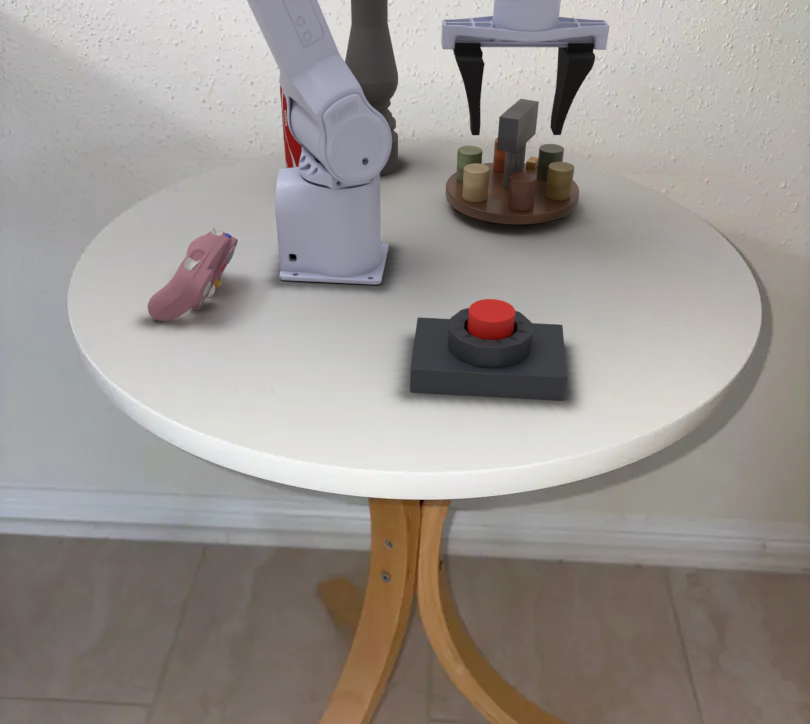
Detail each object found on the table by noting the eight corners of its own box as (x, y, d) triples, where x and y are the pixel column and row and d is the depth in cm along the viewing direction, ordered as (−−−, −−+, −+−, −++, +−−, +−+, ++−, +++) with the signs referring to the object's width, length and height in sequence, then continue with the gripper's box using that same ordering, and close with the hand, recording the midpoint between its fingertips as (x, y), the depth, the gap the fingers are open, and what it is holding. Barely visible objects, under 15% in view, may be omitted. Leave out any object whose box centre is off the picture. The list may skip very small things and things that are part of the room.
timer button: (466, 340, 70) (468, 320, 69) (468, 317, 73) (469, 297, 72) (513, 343, 70) (515, 322, 69) (513, 319, 73) (515, 299, 71)
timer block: (409, 393, 71) (410, 348, 69) (417, 340, 77) (417, 297, 74) (563, 401, 71) (570, 357, 68) (559, 347, 76) (565, 304, 74)
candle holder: (408, 162, 106) (412, -97, 89) (379, 180, 102) (376, -88, 85) (364, 151, 108) (359, -103, 91) (334, 168, 104) (323, -95, 87)
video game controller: (189, 343, 79) (214, 281, 74) (141, 317, 78) (163, 252, 74) (228, 290, 86) (253, 229, 82) (184, 265, 85) (206, 203, 81)
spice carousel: (553, 235, 89) (565, 143, 83) (423, 208, 94) (426, 119, 88) (594, 184, 99) (607, 98, 93) (475, 162, 103) (480, 78, 97)
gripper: (606, -46, 80) (583, 116, 89) (441, -47, 79) (435, 117, 88) (623, -28, 75) (597, 143, 84) (447, -29, 74) (440, 143, 83)
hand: (515, 131), depth 86 cm, fingers open, 7 cm apart
